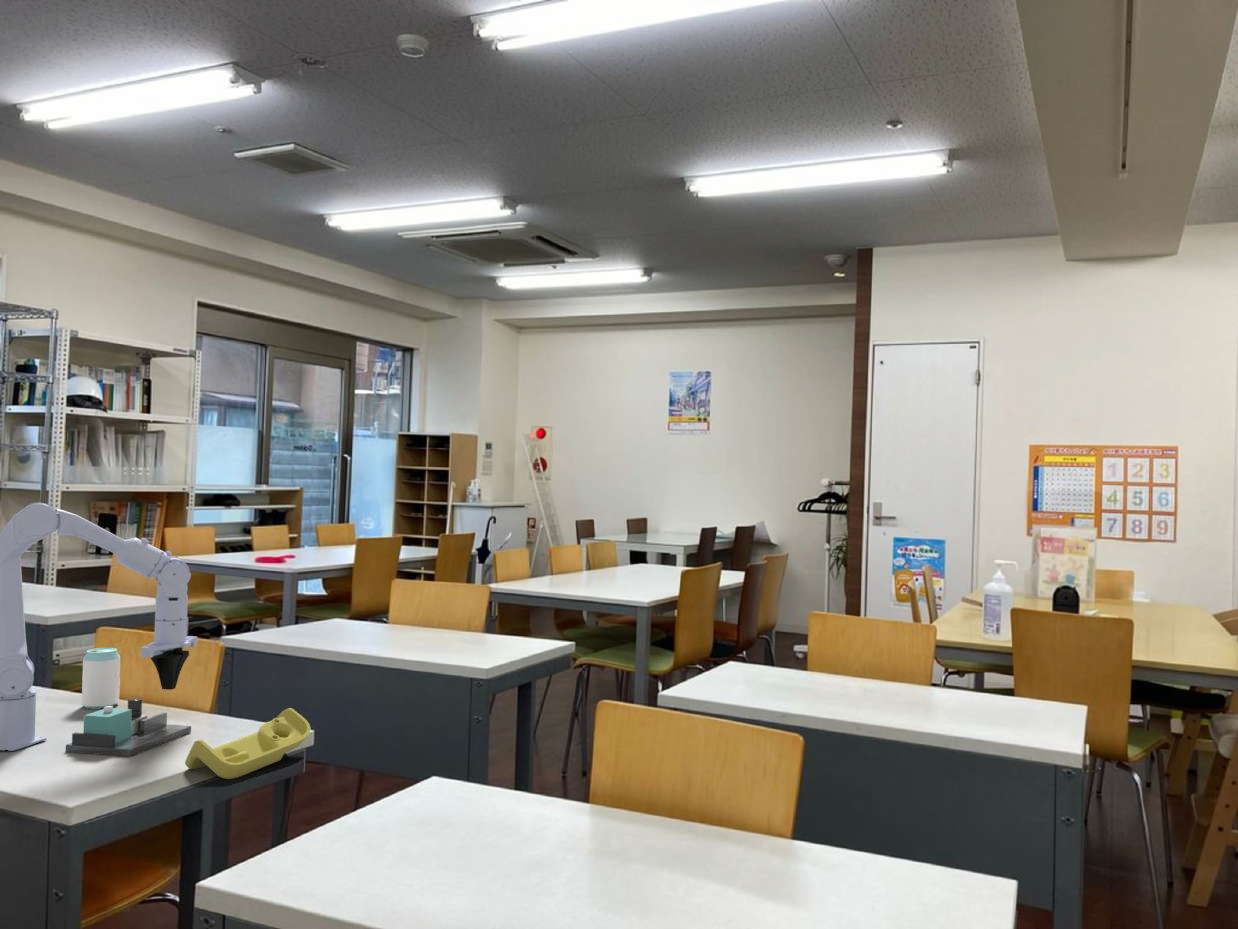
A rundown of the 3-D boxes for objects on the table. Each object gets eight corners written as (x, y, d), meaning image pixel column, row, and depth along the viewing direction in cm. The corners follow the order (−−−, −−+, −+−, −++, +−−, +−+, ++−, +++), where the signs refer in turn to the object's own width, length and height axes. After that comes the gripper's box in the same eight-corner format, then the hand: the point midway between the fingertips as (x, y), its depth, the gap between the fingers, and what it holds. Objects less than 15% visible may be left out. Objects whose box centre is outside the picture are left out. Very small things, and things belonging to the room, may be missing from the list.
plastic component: (230, 768, 154) (192, 734, 158) (218, 805, 156) (180, 770, 160) (321, 732, 171) (285, 702, 175) (309, 766, 173) (274, 735, 177)
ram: (109, 734, 176) (110, 704, 176) (129, 727, 181) (129, 698, 181) (129, 735, 175) (129, 705, 175) (147, 728, 180) (148, 699, 180)
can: (85, 711, 199) (87, 653, 199) (78, 705, 204) (80, 649, 204) (122, 706, 203) (124, 650, 203) (114, 700, 208) (116, 646, 209)
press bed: (65, 751, 169) (66, 731, 169) (130, 728, 186) (131, 709, 186) (130, 756, 167) (131, 736, 167) (190, 732, 184) (191, 713, 184)
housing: (83, 743, 170) (84, 709, 170) (106, 735, 176) (107, 702, 176) (107, 745, 169) (109, 711, 169) (131, 736, 175) (131, 704, 175)
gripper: (165, 625, 179) (162, 697, 178) (211, 615, 193) (209, 682, 193) (131, 623, 180) (129, 695, 180) (180, 613, 194) (178, 680, 194)
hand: (168, 688), depth 186 cm, fingers closed
